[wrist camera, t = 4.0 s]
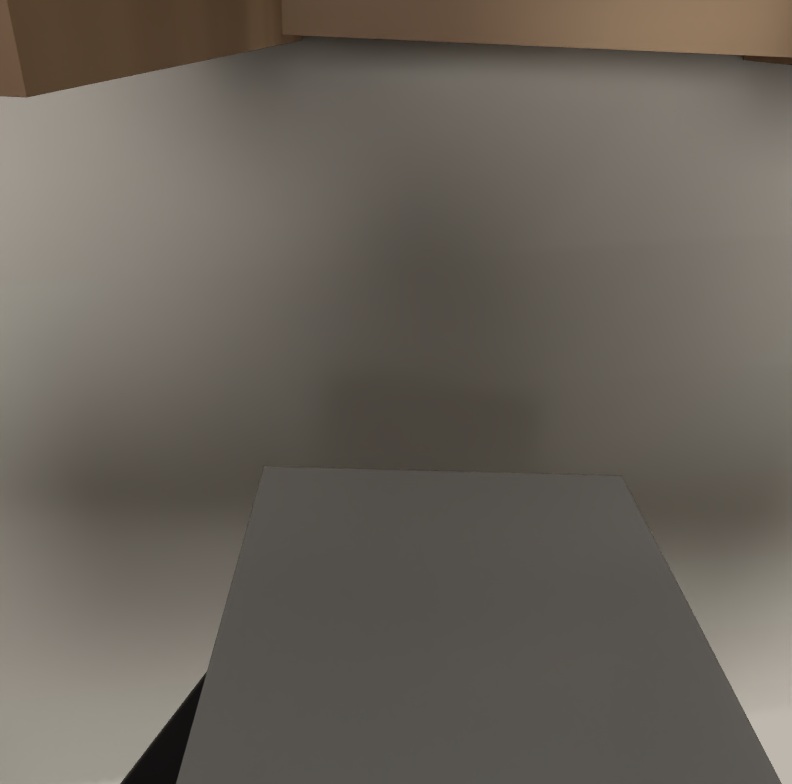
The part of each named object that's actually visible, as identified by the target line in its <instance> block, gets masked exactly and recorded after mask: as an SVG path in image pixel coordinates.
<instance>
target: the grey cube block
mask: <svg viewBox="0 0 792 784" xmlns="http://www.w3.org/2000/svg"><path fill="white" fill-rule="evenodd" d="M176 784H781V782H780V780H779V778H778V776H777V774H776V772H775V770H774V768H773V766H772V764H771V762H770V761H769V758H768V757H767V755H766V753H765V751H764V749H763V747H762V745H761V743H760V741H759V739H758V737H757V735H756V734H755V732H754V730H753V728H752V726H751V724H750V722H749V720H748V718H747V716H746V714H745V712H744V710H743V708H742V706H741V705H740V703H739V701H738V699H737V697H736V695H735V693H734V691H733V689H732V687H731V685H730V683H729V681H728V680H727V678H726V676H725V674H724V672H723V670H722V668H721V666H720V664H719V662H718V660H717V658H716V656H715V654H714V653H713V651H712V649H711V647H710V645H709V643H708V641H707V639H706V637H705V635H704V633H703V631H702V629H701V628H700V626H699V624H698V622H697V620H696V618H695V616H694V614H693V612H692V610H691V608H690V606H689V604H688V603H687V601H686V599H685V597H684V595H683V593H682V591H681V589H680V587H679V585H678V583H677V581H676V579H675V577H674V576H673V574H672V572H671V570H670V568H669V566H668V564H667V562H666V560H665V558H664V556H663V554H662V552H661V551H660V549H659V547H658V545H657V543H656V541H655V539H654V537H653V535H652V533H651V531H650V529H649V527H648V526H647V524H646V522H645V520H644V518H643V516H642V514H641V512H640V510H639V508H638V506H637V504H636V502H635V500H634V499H633V497H632V495H631V493H630V491H629V489H628V487H627V485H626V483H625V481H624V479H623V477H622V476H614V475H576V474H538V473H499V472H461V471H423V470H385V469H347V468H308V467H270V466H264V468H263V472H262V475H261V479H260V482H259V486H258V490H257V493H256V497H255V500H254V504H253V508H252V511H251V515H250V518H249V522H248V526H247V529H246V533H245V537H244V540H243V544H242V547H241V551H240V555H239V558H238V562H237V565H236V569H235V573H234V576H233V580H232V583H231V587H230V591H229V594H228V598H227V602H226V605H225V609H224V612H223V616H222V620H221V623H220V627H219V630H218V634H217V638H216V641H215V645H214V648H213V652H212V656H211V659H210V663H209V666H208V670H207V674H206V677H205V681H204V685H203V688H202V692H201V695H200V699H199V703H198V706H197V710H196V713H195V717H194V721H193V724H192V728H191V731H190V735H189V739H188V742H187V746H186V750H185V753H184V757H183V760H182V764H181V768H180V771H179V775H178V778H177V782H176Z"/></svg>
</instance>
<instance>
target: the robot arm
mask: <svg viewBox="0 0 792 784" xmlns="http://www.w3.org/2000/svg"><path fill="white" fill-rule="evenodd" d="M206 674H207V672H206V673H205V675H204V676H203V677H202V678H201V680H200V681H199V682H198V684H197V685H196V686H195V688H194V689H193V690H192V691H191V693H190V694H189V695H188V697H187V698H186V699H185V701H184V702H183V703H182V704H181V706H180V707H179V708H178V710H177V711H176V712H175V713H174V715H173V716H172V717H171V719H170V720H169V721H168V723H167V724H166V725H165V726H164V728H163V729H162V730H161V732H160V733H159V734H158V736H157V737H156V738H155V739H154V741H153V742H152V743H151V745H150V746H149V747H148V748H147V750H146V751H145V752H144V754H143V755H142V756H141V758H140V759H139V760H138V761H137V763H136V764H135V765H134V767H133V768H132V769H131V771H130V772H129V773H128V774H127V776H126V777H125V778H124V780H123V781H122V782H121V783H120V784H176V782H177V778H178V775H179V771H180V768H181V764H182V760H183V757H184V753H185V750H186V746H187V742H188V739H189V735H190V731H191V728H192V724H193V721H194V717H195V713H196V710H197V706H198V703H199V699H200V695H201V692H202V688H203V685H204V681H205V677H206Z"/></svg>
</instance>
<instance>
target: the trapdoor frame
mask: <svg viewBox="0 0 792 784" xmlns="http://www.w3.org/2000/svg"><path fill="white" fill-rule="evenodd" d="M302 36H323V37H346V38H368V39H391V40H413V41H435V42H458V43H480V44H503V45H525V46H548V47H570V48H592V49H615V50H637V51H660V52H682V53H705V54H727V55H744V58H743V60H750V61H760V62H769V63H779V64H788V65H792V0H0V96H8V97H31V96H35V95H40V94H45V93H50V92H55V91H59V90H64V89H69V88H74V87H79V86H83V85H88V84H93V83H98V82H103V81H107V80H112V79H117V78H122V77H127V76H132V75H136V74H141V73H146V72H151V71H156V70H160V69H165V68H170V67H175V66H180V65H184V64H189V63H194V62H199V61H204V60H209V59H213V58H218V57H223V56H228V55H233V54H237V53H242V52H247V51H252V50H257V49H261V48H266V47H271V46H276V45H281V44H285V43H290V42H295V41H300V40H302Z"/></svg>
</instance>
